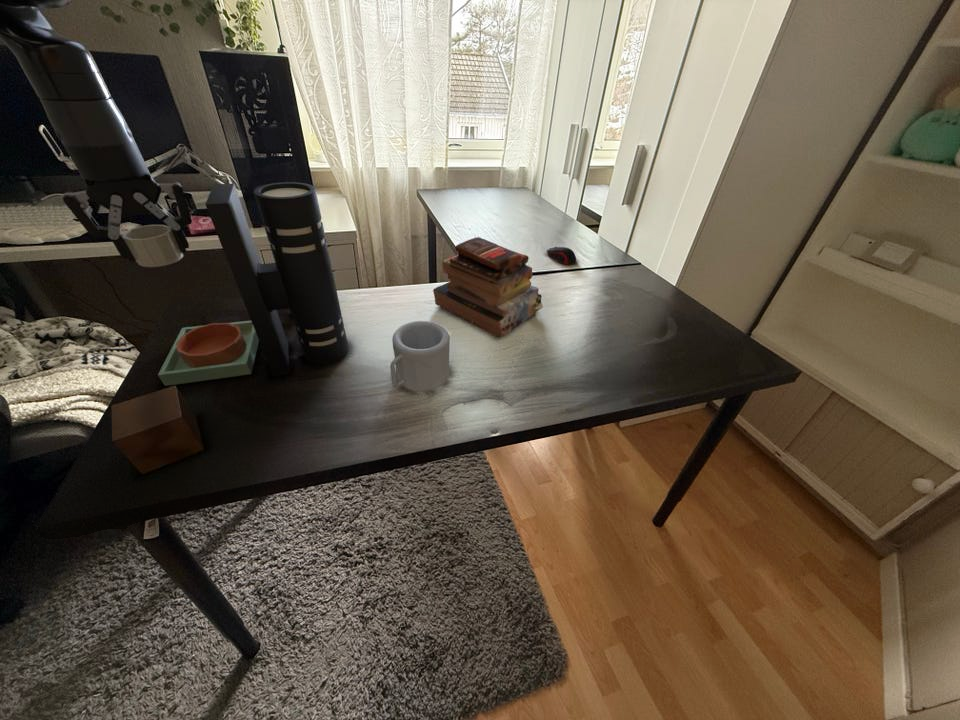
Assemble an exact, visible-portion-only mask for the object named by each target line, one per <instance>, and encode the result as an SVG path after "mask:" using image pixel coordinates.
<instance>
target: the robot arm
mask: <svg viewBox="0 0 960 720" xmlns="http://www.w3.org/2000/svg"><path fill="white" fill-rule="evenodd" d="M71 2H73V0H0V40H1V41H2V42H3V43H4V44H5V46H7V48H8V49H9V50H10V52H11V53H12V54H13V55H14V56H15V58H16V60H17V61H18V63H19V65H20V67H21V70H22V71H23V73H24V75H25V76H26V78H27V80H28V81H29V84H30V85H31V87H32V88H33V90H34V92H35V94H36V96H37V97H38V98H39V100H40V102H41V105H42V106H43V109H44V111H45V114H46V116H47V119H48V121H49V123H50V124H51V126H52V128H53V130H54V133H55V136H56V137H57V139H58V140H59V141H60V142H61V144H62V145H63V147H64V149H65V150H66V152H67V154H68V156H69V157H70V159H71V161H72V163H73V165H74V166H75V168H76V170H77V171H78V173H79V175H80V176H81V178H82V180H83V182H84V184H85V190H79V191H76V192H75V191H74V192H72V191H65V192H64V193H63V197H62V201H63V203H64V204H65V205H66V206H67V208H68V209H69V210H70V211H71V213H72V214H73V215H74V217H75V218H76V219H77V221H78V222H79V223H80V224H81V225H82V227H83V228H84V229H85V230H86V232H87V233H88V234H89V236H90V237H92V238H94V239H100V238H103V239H104V238H105V239H108V240H110V241H111V242H112V243H113V245H114V247H115V248H116V250H117V252H118V253H119V256H120V257H121V258H122V259H124V260H127V259H128V261H129V262H130V263H133V262H136V260H135V258H134V257H133V255H132V253H131V251H130V250H129V248H128V246H127V244H126V243H125V241H124V239H123V238H122V233H121V232H120V230H121V222H122V217H123V218H126V219H127V218H132V217H135V216H149V215H151V214H153V215H154V216H155V217H156V218H157V219H159V220H160V221H162V222H163V223H165V224H166V226H169V227H171V230H172V233H173V235H174V237H175V239H176V241H177V243H178V246H179V248H180V250H181V252H182V253H183V254H184V253H188V251H187V249H189V248H190V243H189V242H188V239H187V237H186V235H185V232H184V230H183V228H184V227H185V226H187V225H192V223H193V220H192V217H191V214H190V210H189V205H188V203H187V199H186V196H185V192H184V189H183V188H182V187H183V186H182V184H181V183H180V182H178V181H176V180H173V181H171V182H170V183H169V182H163V183H162V182H158V181H157V180H156V179H155V178H154V177H153V176H152V174H151V171H150V170H149V168H148V166H147V164H146V162H145V160H144V157H143V155H142V153H141V151H140V148H139V146H138V144H137V142H136V141H135V138H134V136H133V133H132V130H131V129H130V128H129V125H128V123H127V121H126V119H125V117H124V115H123V114H122V112H121V110H120V109H119V107H118V105H117V104H116V102H115V100H114V98H113V97H112V94H111V92H110V90H109V88H108V86H107V84H106V82H105V80H104V77H103V76H102V73H101V71H100V69H99V67H98V64H97V62H96V60H95V59H94V57H93V55H92V53H91V52H90V50H89V48H87V47H86V46H85V45H84V44H82V43H81V42H80V41H78V40H75V39H73V38H71V37H67V36H65V35H62V34H61V33H59V32H58V31H57V30H56V29H55V28H54V27H53V26H52V24H51V23H50V22H49V20H48V19H47V18H46V17H45V15H44V14H43V12H42V11H41V10H40V9H59V8H60V9H61V8H63V7H66V6H68V5H69V4H71ZM162 192H164V193H166V195H167V196H168V197H169V198H170V199H172V200H175V203H176V206H177V208H178V211H179V215H177V216H176V217H175V216H173V214H171V213H170V212H169V211H168V210H167V208H165V207H164V206H163V205H161V204H160V203H159V199H160V197H161V194H162ZM89 200H91V201H94V202H95V203H97V204H98V205H99V206H102V207H103V208H105V209H106V210H108V218H107V219H108V220H107V226H102V225H101V226H100V225H99V223H98V221H96V219H95V218H94V216H92V214H91V213H90V211H89V210H88V209H89V206H90V204H89Z"/></svg>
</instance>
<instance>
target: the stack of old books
mask: <svg viewBox="0 0 960 720" xmlns="http://www.w3.org/2000/svg"><path fill="white" fill-rule="evenodd" d="M454 249H455V251H456V252H457V253H458V254H456V255H454V256H452V257H449V258H448V259H447V258H446V259H445V260H442V262H441V264H442V269H443V273H444V274H447V279H448V280H450V281H449V282H448V281H447V282H446V283H444V284H441V285H439V286H437V287H435V288H433V289H432V292H433V296H434V303H435V305H436V306H438V307H440V308H441V309H442V310H443V311H444V310H445V311H446V312H448V313H450V314H452V315H453V316H455V317H457V318H458V319H461V320H463V321H465V322H467V323H468V324H470V325H473V326H474V327H476V328H478V329H480V330H482V331H483V332H485V333H487V334H489V335H491V336H492V337H494V338H496V339H499V338H500V337H505V336H506V335H508V334H509V333H510V332H512V331H513V330H515V329H516V328H517V327H519V326H520V325H521V324H523V323H524V322H525V321H527V320H528V319H529V318H531V317H532V316H534V314H535V313H537V312H538V311H539V310H541V309H542V308H543V307H544V305H543V303H542V294H540V293H539V287H537V286H534V285H532V281H531V280H530V279H532V278H533V267H532V266H529V265H527V264H528V262H529V259H530V258H529V255H526V254H523V253H521V252H518V251H515V250H511V249H508V248H506V247H504V246H501V245H499V244H497V243H495V242H492V241H490V240H487V239H485V238H482V237H479V236H477V237H473V238H471V239H467V240H465V241H463V242H460V243H458V244H456V245H455V248H454Z"/></svg>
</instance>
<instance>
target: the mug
mask: <svg viewBox="0 0 960 720" xmlns="http://www.w3.org/2000/svg"><path fill="white" fill-rule="evenodd" d="M450 338H451V337H450V334H449V331H448V330H447V329H446V328H445V327H444V326H443V325H441V324H439V323H437V322H433V321H429V320H414V321H410V322H408V323H407V322H406V323H404V324H403V325H401V326H400V327H398V328H397V329H396V330H395V332H394V333H393V335H392V339H391V341H392V350H393V354H394V358H393V360H392V361H391V362H390V376H391V384H392V387H394V388H398V387H400V386H402V387H403V388H405V389H407V390H409V391H413V392H414V391H415V392H430V391H433V390H436V389H439V388H440V387H442V386H443V385H445V383H446V382H447V381H448V379H449V377H450V348H451V347H450V345H451V339H450ZM397 381H398V382H397Z"/></svg>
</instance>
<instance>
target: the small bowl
mask: <svg viewBox="0 0 960 720" xmlns="http://www.w3.org/2000/svg"><path fill="white" fill-rule="evenodd" d="M121 235H122V238H123V239H124V241H125V243H126V244H127V246H128V248H129V250H130V251H131V253H132V255H133V257H134V258H135V260H136V261H135V263H136V264H137V265H138V266H141V267H143V268H157V267H164V266H169V265H172V264H175V263H177V262H179V261H180V260H182V259H183V257H184V253H182V252H181V250H180V248H179V246H178V243H177V241H176V239H175V237H174V235H173V233H172V230H171V227H169V226H168V225H165V224H147V225H141V226H136V227H134V228H130V229H128V230H126V231H124V232H122V233H121Z"/></svg>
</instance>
